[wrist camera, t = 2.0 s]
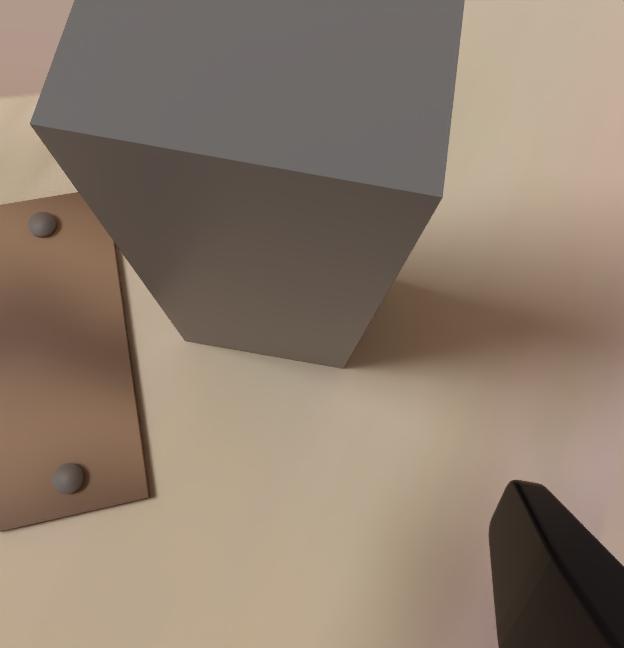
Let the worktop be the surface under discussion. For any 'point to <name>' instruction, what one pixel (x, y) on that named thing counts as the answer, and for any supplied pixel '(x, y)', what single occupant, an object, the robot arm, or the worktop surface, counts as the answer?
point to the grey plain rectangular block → (258, 155)
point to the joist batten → (63, 367)
